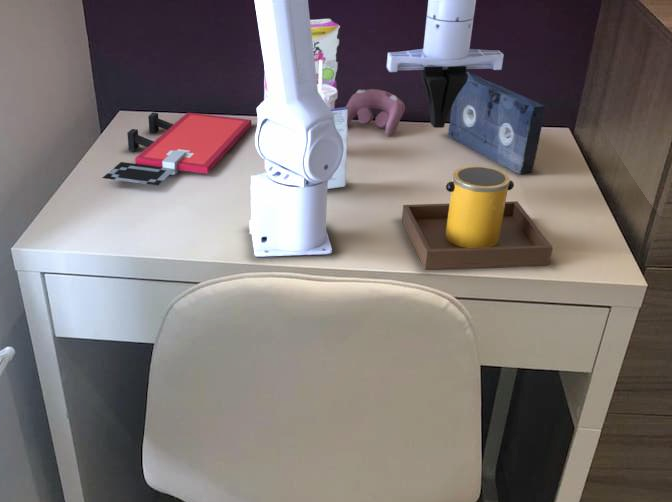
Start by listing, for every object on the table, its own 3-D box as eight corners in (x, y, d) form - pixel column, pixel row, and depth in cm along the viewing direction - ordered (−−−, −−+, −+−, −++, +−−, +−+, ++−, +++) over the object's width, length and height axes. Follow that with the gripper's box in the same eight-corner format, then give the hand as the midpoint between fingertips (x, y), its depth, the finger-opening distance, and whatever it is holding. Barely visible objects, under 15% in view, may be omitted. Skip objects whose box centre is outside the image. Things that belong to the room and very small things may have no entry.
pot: (435, 258, 107) (457, 239, 97) (430, 179, 108) (452, 152, 97) (498, 256, 107) (527, 237, 97) (493, 178, 108) (521, 151, 98)
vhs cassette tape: (534, 172, 124) (547, 105, 118) (517, 175, 123) (530, 107, 117) (461, 133, 137) (470, 70, 131) (446, 135, 136) (454, 73, 130)
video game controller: (399, 140, 138) (411, 97, 137) (390, 135, 134) (402, 91, 133) (347, 129, 143) (358, 87, 141) (336, 124, 139) (347, 81, 137)
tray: (424, 269, 99) (426, 251, 98) (401, 221, 110) (403, 204, 108) (549, 265, 100) (553, 247, 99) (514, 217, 111) (517, 201, 109)
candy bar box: (271, 135, 136) (272, 29, 126) (263, 125, 140) (262, 21, 130) (336, 128, 138) (341, 24, 129) (325, 118, 142) (330, 16, 133)
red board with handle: (90, 182, 119) (190, 196, 116) (88, 163, 117) (189, 176, 114) (167, 118, 142) (251, 128, 140) (166, 101, 141) (251, 111, 138)
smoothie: (331, 162, 126) (336, 67, 118) (290, 158, 127) (291, 64, 119) (337, 147, 131) (342, 55, 123) (297, 144, 132) (299, 52, 124)
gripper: (497, 8, 107) (481, 113, 115) (385, 9, 106) (377, 116, 114) (515, 21, 101) (497, 131, 109) (397, 23, 100) (387, 134, 108)
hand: (437, 125), depth 111 cm, fingers closed
